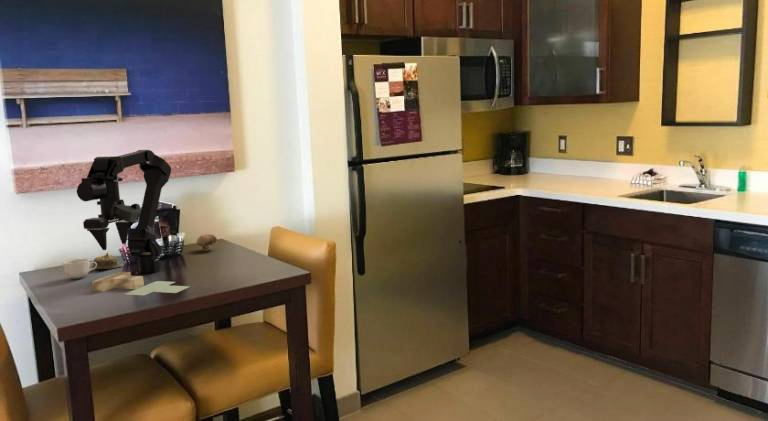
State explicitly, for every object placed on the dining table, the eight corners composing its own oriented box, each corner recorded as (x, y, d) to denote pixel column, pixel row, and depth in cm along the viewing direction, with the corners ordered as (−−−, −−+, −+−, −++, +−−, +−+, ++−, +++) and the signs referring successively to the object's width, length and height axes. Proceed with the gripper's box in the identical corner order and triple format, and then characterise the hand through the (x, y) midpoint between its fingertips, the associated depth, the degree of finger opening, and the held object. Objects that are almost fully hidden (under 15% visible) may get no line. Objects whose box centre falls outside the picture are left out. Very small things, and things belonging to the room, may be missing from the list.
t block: (93, 291, 186) (92, 281, 186) (120, 280, 198) (120, 271, 197) (126, 292, 183) (124, 283, 182) (152, 282, 194) (151, 273, 193)
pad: (123, 294, 181) (123, 294, 181) (156, 281, 195) (156, 280, 195) (167, 297, 177) (167, 296, 177) (197, 283, 191) (197, 283, 191)
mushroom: (193, 252, 237) (192, 236, 236) (202, 248, 245) (201, 232, 244) (213, 252, 236) (211, 236, 235) (221, 248, 243) (220, 232, 242)
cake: (94, 272, 211) (92, 257, 210) (90, 267, 220) (88, 252, 219) (125, 268, 216) (124, 252, 216) (120, 263, 225) (118, 248, 224)
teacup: (65, 281, 200) (63, 264, 199) (64, 276, 207) (62, 260, 206) (98, 276, 205) (97, 260, 204) (97, 271, 211) (95, 256, 211)
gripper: (112, 201, 179) (117, 253, 182) (150, 193, 197) (155, 241, 200) (79, 201, 182) (84, 253, 184) (120, 193, 200) (125, 241, 202)
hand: (114, 246), depth 193 cm, fingers open, 9 cm apart
